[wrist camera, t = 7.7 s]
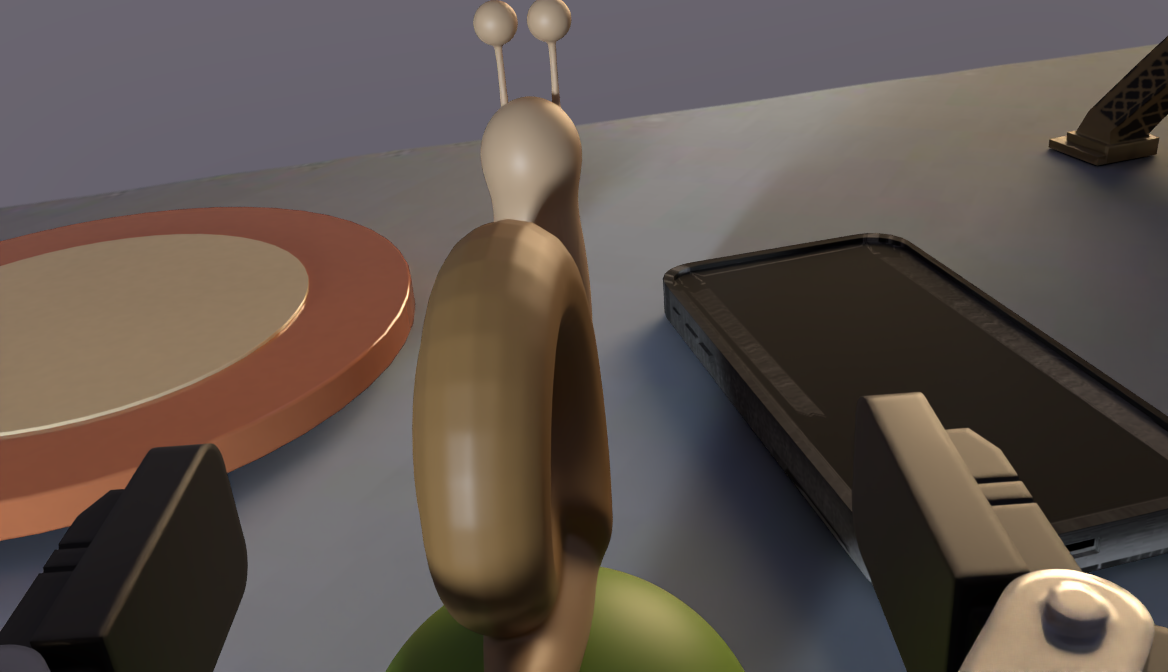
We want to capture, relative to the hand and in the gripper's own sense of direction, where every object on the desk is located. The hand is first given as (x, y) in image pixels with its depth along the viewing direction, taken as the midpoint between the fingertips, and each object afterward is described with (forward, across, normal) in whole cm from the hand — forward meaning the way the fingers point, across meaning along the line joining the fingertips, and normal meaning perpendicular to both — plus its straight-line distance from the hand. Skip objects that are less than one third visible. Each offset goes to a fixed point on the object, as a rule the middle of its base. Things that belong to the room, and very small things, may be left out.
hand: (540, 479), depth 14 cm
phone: (+12, -8, +6) cm, 16 cm away
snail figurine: (-1, 0, +7) cm, 7 cm away
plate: (+17, +14, +6) cm, 23 cm away
